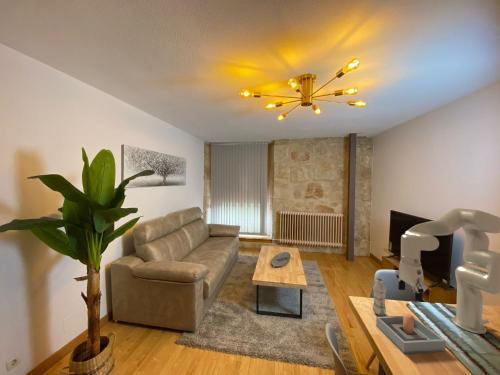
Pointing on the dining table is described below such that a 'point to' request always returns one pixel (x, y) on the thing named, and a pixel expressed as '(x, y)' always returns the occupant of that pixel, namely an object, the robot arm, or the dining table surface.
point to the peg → (408, 324)
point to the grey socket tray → (410, 336)
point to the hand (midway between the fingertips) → (409, 294)
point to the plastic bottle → (379, 297)
